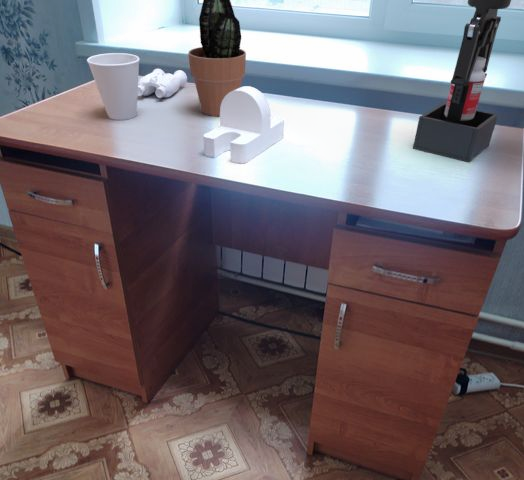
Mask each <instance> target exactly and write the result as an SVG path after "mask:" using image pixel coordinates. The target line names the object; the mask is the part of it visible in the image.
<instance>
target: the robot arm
mask: <svg viewBox="0 0 524 480" xmlns="http://www.w3.org/2000/svg"><path fill="white" fill-rule="evenodd" d="M511 2H512V0H467V5H468V6H469V7H472V8H475V11H474V14H473V16H472V18H470V21H469V23H468V22H467V23H465V25H464V28H463V29H464V30H463V34H462V41H461V45H460V47H459V53H458V56H457V60H456V64H455V67H454V71H453V75H452V78H451V80H450V85H451V84H455V86H454V90H453V94H452V98H451V102H450V106H449V110H448V115H447V118H448V119H452V120H457V121H460V120H461V116H462V112H463V109H464V105H465V101H466V97H467V93H468V90H469V85H468V84H469V80H470V77H471V74H472V71H473V68H474V65H475V62H476V59H477V57H483V58H485V59H486V63H485V66H484V68H483V69H482V71H483V72H484V73H485V79H486V78H487V75H488V73H487V71H488V66H489V62H490V58H491V55H492V51H493V47H494V43H495V39H496V35H497V32H498V29H499V25H500V23H501V21H502V19H501V18H502V16H498V11H499V10H503V9H507V8H510V5H511ZM460 76H461V77H460Z"/></svg>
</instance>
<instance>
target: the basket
mask: <svg viewBox="0 0 524 480" xmlns="http://www.w3.org/2000/svg"><path fill="white" fill-rule="evenodd" d="M446 104H447V103H444V102H443V103H440V104H439V105H436V106H435V107H433V108H432V109H430V110H428V111H427V112H425V113H423V114H422V115H420V116H419V117H418V123H417V125H416V126H417V127H416V132H415V135H414V136H415V137H414V140H413V146H412V149H414V150H418V151H421V152H424V153H425V152H426V153H431V154H434V155H439V156H443V157H446V158H450V159H454V160H458V161H463V162H466V163H470V162H471V161H473V160H474V159H475V158H476V157H477V156H478V155H479V154H481V153H482V152H483V151H484V150H485V149H487V148H488V147H489V146H490V143H491V141H492V137H493V134H494V130H495V127H496V125H497V120H498V117H499V114H498V113H493V112H489V111H484V110H480V109H479V110H478V109H476V112H475V115H474V118H473V119H471V120H467V121H457V120H452V119H448V118H447V117H446V116H445V114H444V113H445V108H446Z"/></svg>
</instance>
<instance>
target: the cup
mask: <svg viewBox="0 0 524 480" xmlns="http://www.w3.org/2000/svg"><path fill="white" fill-rule="evenodd" d="M140 60H141V58H140V57H139V56H138V55H136V54H131V53H126V52H125V53H124V52H123V53H122V52H111V53H99V54H95V55H91V56H89V57H88V58H87V59H86V63H87V65H88V66H89V69H90V72H91V74H92V77H93V79H94V82H95V85H96V88H97V90H98V93H99V95H100V98H101V102H102V104H103V106H104V109H105V112H106V115H107V117H108V118H109V119H111V120H114V121H117V120H118V121H126V120H131V119H134V118H136V117H137V112H138V111H137V110H138V96H137V94H138V81H139V75H140V73H139V72H140Z"/></svg>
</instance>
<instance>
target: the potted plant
mask: <svg viewBox="0 0 524 480" xmlns="http://www.w3.org/2000/svg"><path fill="white" fill-rule="evenodd" d="M198 23H199V25H198V26H199V38H200V44H201V46H199V47H195V48H192V49H190V50H188V53H187V54H188V64H189V71H190V72H189V73H190V76H191V77H192V78H193V80H194V84H195V89H196V93H197V96H198V101H199V105H200V109H201V112H202V113H203V114H205V115H207V116H212V117H220V106H221V103H222V100H223V99H224V97H225V96H226V95H227V94H228V93H229V92H232V91H234V90H236V89H238V88H240V87H242V82H243V78H244V77H245V76H246V61H247V58H246V57H247V53H246V50H244V49H242V48H241V41H242V32H241V24H240V20H239V19H238V18H237V17H236V16H235V12H234V8H233V5H232V2H231V0H203V1H202V5H201V9H200V14H199V18H198Z"/></svg>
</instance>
